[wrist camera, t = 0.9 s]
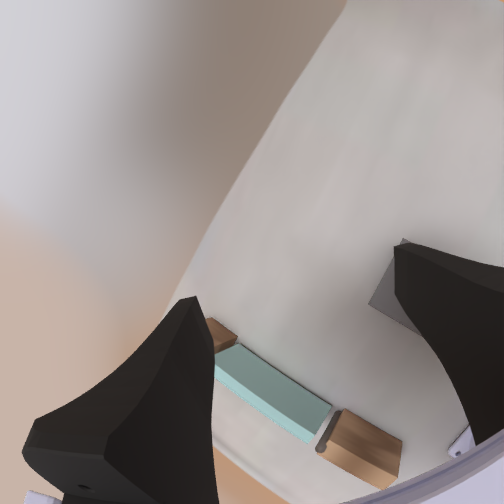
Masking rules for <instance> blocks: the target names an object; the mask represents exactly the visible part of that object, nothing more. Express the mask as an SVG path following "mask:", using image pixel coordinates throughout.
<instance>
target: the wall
mask: <svg viewBox="0 0 504 504" xmlns="http://www.w3.org/2000/svg"><path fill="white" fill-rule="evenodd" d="M205 320H206V323H207V325H208V328H209V330H210V333H211V335H212V338H213V340H214V353H215V354H217V353H219V352H221V351H224V350H226V349H228V348H230V347H232V346H233V344H234V343H235V341H236V339H237V337H238V336H236V335H235V334H233V333H232V332H231V331H229V330H228V329H227V328H225V327H224V326H223V325H221V324H220V323H219V322H217V321H216V320H215V319H213V318H208V319H205ZM401 449H402V441H400V440H398V439H396V438H395V437H393V436H391V435H389V434H387V433H386V432H384V431H382V430H380V429H379V428H377V427H375V426H373V425H372V424H370V423H368V422H367V421H365V420H363V419H362V418H360V417H358V416H356V415H355V414H353V413H352V412H350V411H348V410H347V409H344V410H343V411H342V412H340V411H336V412H335V413H334V415H333V417H332V419H331V421H330V423H329V424H328V426H327V428H326V430H325V432H324V433H323V435H322V437H321V439H320V440H319V442H318V444H317V446H316V447H315V450H316V452H317V454H318V455H319V456H321V457H323V458H324V459H326V460H328V461H329V462H331V463H333V464H335V465H336V466H338V467H340V468H342V469H343V470H345V471H347V472H349V473H350V474H352V475H354V476H356V477H358V478H360V479H361V480H363V481H365V482H367V483H369V484H371V485H373V486H375V487H377V488H379V489H381V490H384V489H386V488H387V487H388V486H389V485H390V484H392V483H393V482H394V481H395V480H396V479H397V478H398V473H399V466H400V458H401Z"/></svg>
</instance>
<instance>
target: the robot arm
mask: <svg viewBox="0 0 504 504" xmlns="http://www.w3.org/2000/svg"><path fill="white" fill-rule="evenodd" d="M394 274H395V289H394V294H395V296H396V297H397V299H398V301H399V303H400V305H401V306H402V308H403V310H404V312H405V313H406V315H407V316H408V317H409V319H410V320H411V321H412V323H413V324H414V325H415V327H416V328H417V329H418V331H419V332H420V333H421V335H422V336H423V337H424V339H425V340H426V341H427V343H428V344H429V345H430V347H431V348H432V349H433V351H434V352H435V353H436V355H437V356H438V358H439V359H440V361H441V363H442V364H443V366H444V368H445V370H446V372H447V374H448V376H449V378H450V379H451V381H452V384H453V386H454V388H455V390H456V392H457V394H458V397H459V399H460V401H461V404H462V406H463V409H464V411H465V414H466V417H467V419H468V422H469V426H468V428H467V429H466V430H465V431H464V432H463V433H462V435H461V436H460V437H459V438H458V439H457V440H456V441H455V442H454V444H453V445H452V446H451V447H450V448H449V450H448V453H449V455H450V456H452V457H454V459H452V460H450V461H449V462H447V463H445V464H443V465H441V466H439V467H437V468H434V469H432V470H430V471H428V472H426V473H424V474H421V475H419V476H417V477H415V478H412V479H410V480H408V481H405V482H403V483H400V484H398V485H395V486H392V487H390V488H387V489H384V490H382V491H379V492H376V493H373V494H370V495H367V496H364V497H361V498H357V499H354V500H351V501H347V502H344V503H340V504H504V268H503V267H498V266H493V265H488V264H483V263H479V262H476V261H472V260H468V259H465V258H461V257H458V256H454V255H451V254H448V253H445V252H442V251H439V250H435V249H432V248H429V247H425V246H422V245H418V244H414V243H404V244H401V245H397V246H394ZM214 374H215V353H214V340H213V338H212V335H211V333H210V330H209V328H208V325H207V323H206V320H205V318H204V315H203V312H202V310H201V307H200V305H199V302H198V299H197V297H196V296H193V297H189V298H185V299H180V300H179V301H178V302H177V303H176V304H175V305H174V306H173V308H172V309H171V310H170V311H169V312H168V314H167V315H166V316H165V317H164V319H163V320H162V321H161V322H160V324H159V325H158V326H157V327H156V328H155V330H154V331H153V332H152V333H151V334H150V335H149V337H148V338H147V339H146V340H145V341H144V342H143V343H142V345H140V346H139V348H138V349H137V350H136V351H135V352H134V353H133V354H132V355H131V356H130V357H129V358H128V359H127V360H126V361H125V362H124V363H123V364H122V365H120V366H119V367H118V368H117V369H116V370H115V371H114V372H113V373H111V374H110V375H109V376H107V377H106V378H105V379H103V380H102V381H101V382H99V383H98V384H97V385H95V386H94V387H93V388H91V389H90V390H89V391H87V392H86V393H84V394H82V395H81V396H80V397H78V398H76V399H74V400H73V401H71V402H69V403H68V404H66V405H64V406H62V407H60V408H58V409H56V410H54V411H52V412H50V413H48V414H46V415H44V416H42V417H40V418H37V419H36V420H35V421H34V423H33V426H32V428H31V430H30V433H29V435H28V437H27V440H26V442H25V445H24V447H23V450H22V454H23V457H24V459H25V461H26V462H27V463H28V465H29V466H30V467H31V468H32V469H33V470H34V471H35V472H37V473H38V474H39V475H40V476H42V477H43V478H44V479H45V480H47V481H48V482H49V483H51V484H52V485H53V486H55V487H56V488H57V489H59V490H60V491H62V492H63V493H64V497H63V500H62V501H61V500H59V499H57V498H54V497H51V496H48V495H44V494H41V493H37V492H34V491H31V490H29V491H27V494H26V497H25V501H24V504H219V499H218V493H217V486H216V478H215V469H214V458H213V447H212V431H211V414H212V400H213V387H214ZM458 451H460V453H458V454H456V452H458Z"/></svg>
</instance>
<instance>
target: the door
mask: <svg viewBox="0 0 504 504" xmlns="http://www.w3.org/2000/svg"><path fill="white" fill-rule="evenodd" d="M214 378H216V379H217V380H218V381H219V382H221V383H222V384H223V385H225V386H226V387H227V388H228V389H230V390H231V391H232V392H234V393H235V394H236V395H238V396H239V397H240V398H242V399H243V400H244V401H246V402H247V403H248V404H250V405H251V406H252V407H254V408H255V409H256V410H258V411H259V412H261V413H262V414H263V415H265V416H266V417H268V418H269V419H271V420H272V421H273V422H275V423H276V424H278V425H279V426H281V427H282V428H284V429H285V430H287V431H288V432H290V433H291V434H293V435H294V436H296V437H297V438H299V439H300V440H302V441H303V442H305V443H307V444H308V443H309V442H310V440H311V439H312V438H313V437H314V436H315V434H316V433H317V431H318V430H319V428H320V426H321V425H322V423H323V421H324V419H325V418H326V416H327V414H328V413H329V411H330V409H331V407H332V406H331V405H329V404H327V403H326V402H324V401H323V400H321V399H319V398H318V397H316V396H315V395H313V394H312V393H310V392H309V391H307V390H306V389H304V388H303V387H301V386H300V385H298V384H296V383H295V382H294V381H292V380H291V379H289V378H288V377H286V376H285V375H283V374H282V373H280V372H279V371H277V370H276V369H274V368H273V367H271V366H270V365H269V364H267V363H266V362H264V361H263V360H261V359H260V358H259V357H257V356H256V355H254V354H253V353H252V352H250V351H249V350H247V349H246V348H245V347H243V346H242V345H241V344H236V345H234V346H232V347H230V348H228V349H226V350H224V351H221V352H219V353H217V354H215V374H214Z"/></svg>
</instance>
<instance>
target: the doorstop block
mask: <svg viewBox="0 0 504 504" xmlns="http://www.w3.org/2000/svg"><path fill="white" fill-rule="evenodd" d="M404 243H411V242H409V241H408V240H406V239H404V238H403V239H402V241H401V243H400V245H401V244H404ZM394 289H395V274H394V257H393V259H392V261H391V263H390V265H389V267H388V269H387V271H386V272H385V274H384V276H383V278H382V280H381V282H380V284H379V285H378V287H377V289H376V291H375V293H374V294H373V296H372V298H371V300H370V301H369V303H368V304H369V305H370V306H372V307H374V308H375V309H377V310H379V311H380V312H382V313H384V314H386V315H387V316H389V317H391V318H392V319H394V320H396V321H397V322H399V323H401V324H402V325H404V326H406V327H407V328H409V329H411V330H412V331H414V332H416V333H417V334H419V335H421V333H420V332H419V331H418V329H417V328H416V327H415V325H414V324H413V323H412V321H411V320H410V319H409V317H408V316H407V315H406V313H405V312H404V310H403V308H402V306H401V305H400V303H399V301H398V299H397V297H396V296H395V294H394ZM421 336H422V335H421ZM422 337H423V336H422Z"/></svg>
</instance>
